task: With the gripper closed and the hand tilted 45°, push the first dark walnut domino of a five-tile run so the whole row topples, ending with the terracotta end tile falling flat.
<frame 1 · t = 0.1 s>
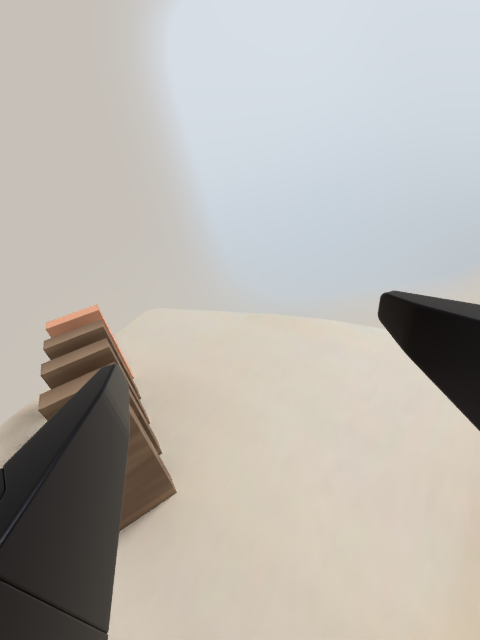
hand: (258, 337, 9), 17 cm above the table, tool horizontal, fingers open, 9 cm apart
domino 4: (117, 405, 30), on the table
domino 5: (112, 383, 33), on the table
domino 1: (143, 503, 21), on the table
domino 3: (123, 430, 27), on the table
domino 2: (132, 462, 24), on the table
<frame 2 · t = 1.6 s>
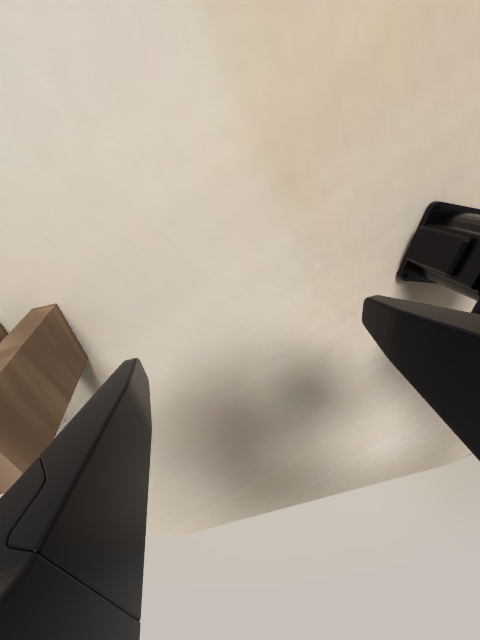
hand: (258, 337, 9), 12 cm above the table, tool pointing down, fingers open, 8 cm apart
domino 1: (62, 335, 20), on the table
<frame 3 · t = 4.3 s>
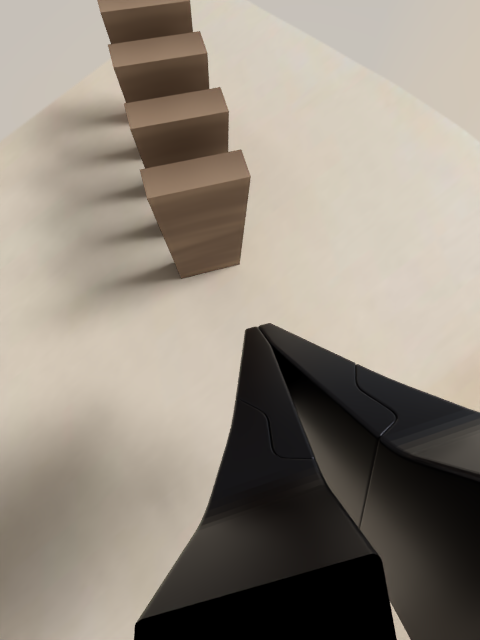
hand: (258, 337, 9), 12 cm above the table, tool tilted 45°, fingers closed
domino 4: (175, 146, 25), on the table
domino 1: (208, 262, 23), on the table
domino 3: (185, 182, 24), on the table
domino 2: (196, 221, 23), on the table
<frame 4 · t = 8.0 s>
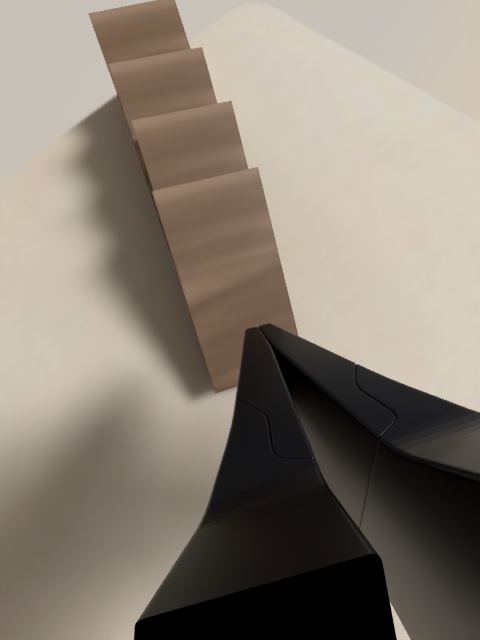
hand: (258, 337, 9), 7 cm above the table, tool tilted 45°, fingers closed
domino 4: (191, 184, 17), point 1 cm above the table, tilted 71°
domino 1: (257, 372, 15), point 1 cm above the table, tilted 67°, touching domino 2
domino 3: (212, 246, 17), point 1 cm above the table, tilted 68°
domino 2: (235, 304, 16), point 1 cm above the table, tilted 67°, touching domino 1
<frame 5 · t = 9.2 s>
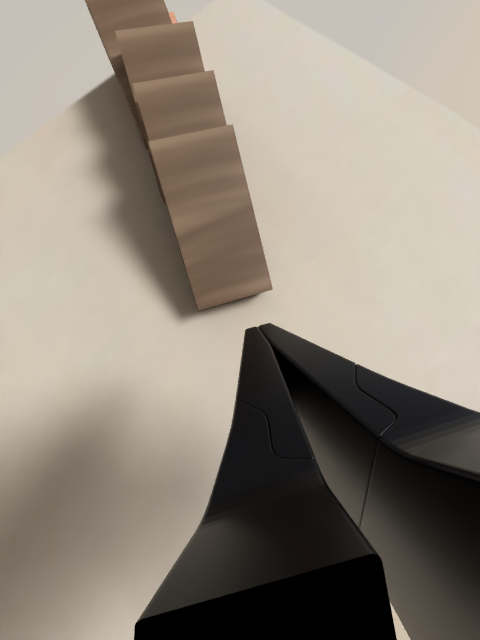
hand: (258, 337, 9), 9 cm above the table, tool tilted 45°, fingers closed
domino 4: (176, 134, 20), point 1 cm above the table, tilted 70°, touching domino 5
domino 1: (234, 298, 18), point 1 cm above the table, tilted 68°, touching domino 2
domino 3: (196, 191, 20), point 1 cm above the table, tilted 69°, touching domino 2
domino 2: (216, 243, 19), point 1 cm above the table, tilted 68°, touching domino 1, domino 3
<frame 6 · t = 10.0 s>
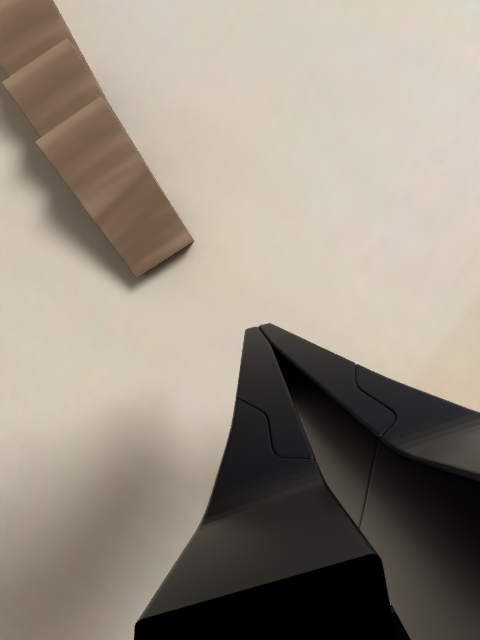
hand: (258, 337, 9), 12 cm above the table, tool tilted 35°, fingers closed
domino 1: (166, 258, 20), point 1 cm above the table, tilted 69°, touching domino 2
domino 3: (103, 163, 21), point 1 cm above the table, tilted 69°, touching domino 2, domino 4
domino 2: (136, 210, 21), point 1 cm above the table, tilted 69°, touching domino 1, domino 3
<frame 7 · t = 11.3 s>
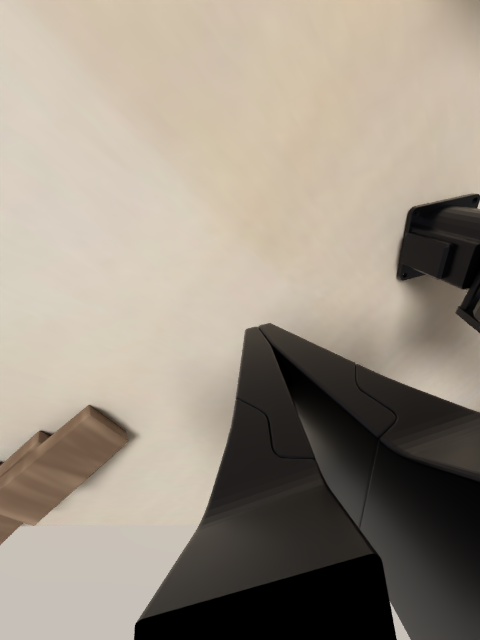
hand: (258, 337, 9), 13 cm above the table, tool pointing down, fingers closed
domino 1: (109, 423, 25), point 1 cm above the table, tilted 69°, touching domino 2
domino 2: (62, 447, 25), point 1 cm above the table, tilted 68°, touching domino 1, domino 3
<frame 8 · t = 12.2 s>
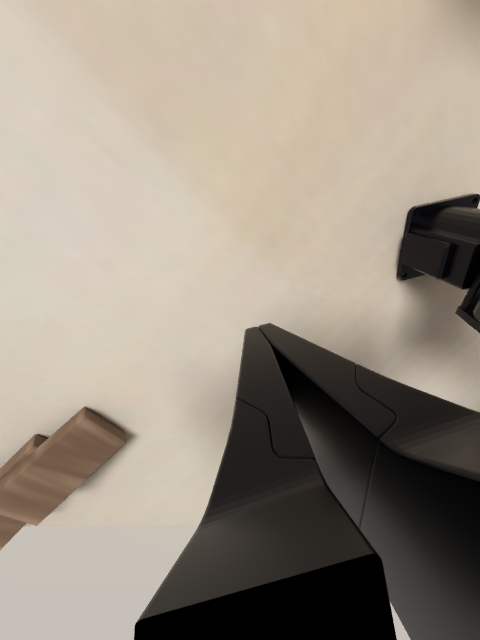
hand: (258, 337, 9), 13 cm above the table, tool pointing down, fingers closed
domino 1: (105, 424, 25), point 1 cm above the table, tilted 71°, touching domino 2
domino 2: (59, 450, 25), point 1 cm above the table, tilted 71°, touching domino 1
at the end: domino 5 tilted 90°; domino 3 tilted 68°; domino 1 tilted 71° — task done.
